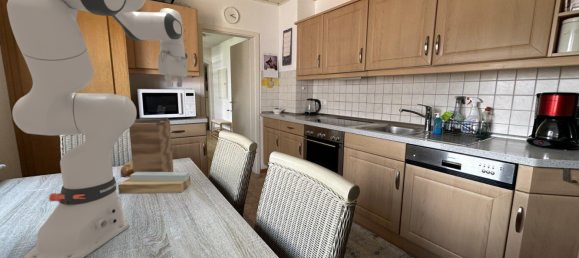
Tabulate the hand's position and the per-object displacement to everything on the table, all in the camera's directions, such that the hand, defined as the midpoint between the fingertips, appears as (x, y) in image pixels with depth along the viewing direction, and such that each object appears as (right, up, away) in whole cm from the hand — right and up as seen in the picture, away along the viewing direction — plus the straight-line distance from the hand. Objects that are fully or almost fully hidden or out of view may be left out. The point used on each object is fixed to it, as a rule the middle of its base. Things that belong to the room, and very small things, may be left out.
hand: (175, 86), depth 104 cm
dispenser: (-13, -40, +9) cm, 43 cm away
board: (-7, -42, -2) cm, 42 cm away
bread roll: (-27, -39, +16) cm, 50 cm away
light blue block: (-5, -38, -2) cm, 39 cm away
